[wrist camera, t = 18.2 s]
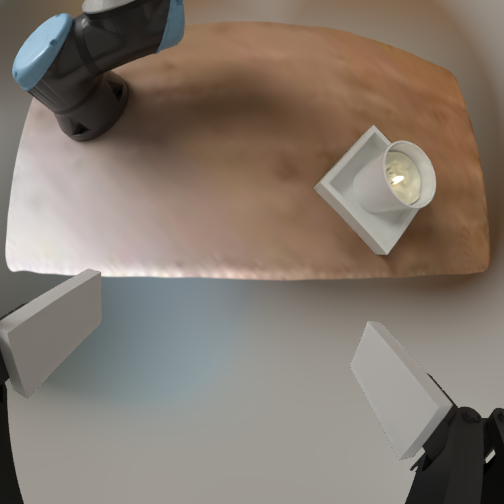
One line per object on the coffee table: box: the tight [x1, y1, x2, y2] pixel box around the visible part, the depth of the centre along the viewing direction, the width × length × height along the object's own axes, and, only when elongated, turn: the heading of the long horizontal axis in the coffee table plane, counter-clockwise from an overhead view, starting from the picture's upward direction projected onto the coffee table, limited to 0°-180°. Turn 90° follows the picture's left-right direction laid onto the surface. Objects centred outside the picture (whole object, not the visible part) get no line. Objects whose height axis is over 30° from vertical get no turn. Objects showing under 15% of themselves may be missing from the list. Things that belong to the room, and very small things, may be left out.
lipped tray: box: [313, 125, 420, 255], centre depth 42 cm, size 16×16×4 cm
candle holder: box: [353, 141, 436, 213], centre depth 37 cm, size 10×10×12 cm
